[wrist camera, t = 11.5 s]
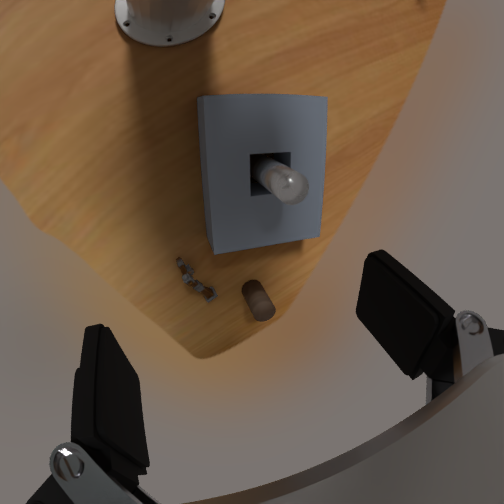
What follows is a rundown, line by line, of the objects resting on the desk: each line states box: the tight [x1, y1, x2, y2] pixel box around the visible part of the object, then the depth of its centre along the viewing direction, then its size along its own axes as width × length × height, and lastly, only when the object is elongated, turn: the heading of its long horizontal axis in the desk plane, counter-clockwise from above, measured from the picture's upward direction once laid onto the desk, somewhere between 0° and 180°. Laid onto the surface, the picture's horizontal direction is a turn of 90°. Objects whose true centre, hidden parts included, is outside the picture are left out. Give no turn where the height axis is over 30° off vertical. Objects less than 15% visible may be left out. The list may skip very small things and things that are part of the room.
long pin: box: [250, 154, 309, 205], centre depth 31 cm, size 3×3×11 cm
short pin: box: [242, 280, 276, 321], centre depth 42 cm, size 3×3×6 cm
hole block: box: [197, 94, 327, 255], centre depth 33 cm, size 18×14×5 cm
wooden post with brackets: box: [176, 257, 218, 302], centre depth 39 cm, size 2×8×4 cm, turn 30°
